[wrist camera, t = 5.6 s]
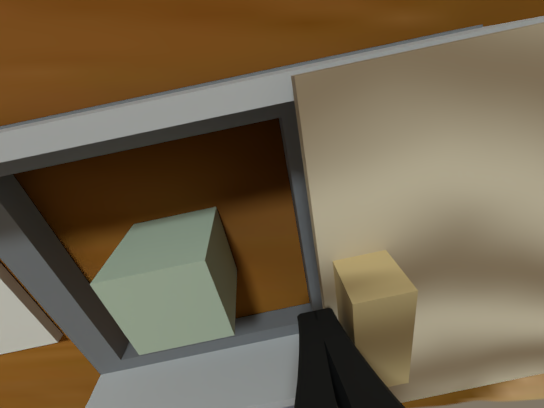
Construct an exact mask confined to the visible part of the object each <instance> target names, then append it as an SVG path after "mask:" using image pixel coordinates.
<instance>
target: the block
mask: <svg viewBox="0 0 544 408" xmlns="http://www.w3.org/2000/svg"><path fill="white" fill-rule="evenodd" d="M90 286H91V287H92V289H93V290H94V291H95V293H96V294H97V296H98V297H99V299H100V300H101V301H102V303H103V304H104V306H105V307H106V309H107V310H108V311H109V313H110V314H111V316H112V317H113V319H114V320H115V321H116V323H117V324H118V326H119V327H120V329H121V330H122V331H123V333H124V334H125V336H126V337H127V338H128V340H129V341H130V343H131V344H132V346H133V347H134V348H135V350H136V351H137V353H138V354H139V355H143V354H148V353H152V352H157V351H162V350H167V349H172V348H176V347H181V346H186V345H191V344H196V343H200V342H205V341H210V340H215V339H220V338H224V337H229V336H234V335H235V313H236V289H237V268H236V265H235V262H234V259H233V256H232V253H231V250H230V247H229V244H228V241H227V238H226V235H225V232H224V228H223V225H222V222H221V219H220V216H219V213H218V210H217V207H212V208H208V209H203V210H198V211H193V212H189V213H184V214H179V215H175V216H170V217H165V218H160V219H156V220H151V221H146V222H142V223H137V224H133V226H132V227H131V229H130V230H129V231H128V233H127V234H126V235H125V237H124V238H123V240H122V241H121V242H120V244H119V245H118V246H117V248H116V249H115V250H114V252H113V253H112V255H111V256H110V257H109V259H108V260H107V261H106V263H105V264H104V266H103V267H102V268H101V270H100V271H99V272H98V274H97V275H96V277H95V278H94V279H93V281H92V282H91V283H90Z"/></svg>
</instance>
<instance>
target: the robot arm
mask: <svg viewBox="0 0 544 408" xmlns="http://www.w3.org/2000/svg"><path fill="white" fill-rule="evenodd" d="M297 319H298V327H299V361H298V377H297V387H296V396H295V404H294V405H292V406H288V407H283V408H405V407H404V406H403V405H402V404H401V402H400V401H399V400H398V399H397V398H396V397H395V396H394V394H393V393H392V392H391V391H390V390H389V388H388V387H387V386H386V385H385V384H384V382H383V381H382V380H381V379H380V378H379V376H378V375H377V374H376V373H375V371H374V370H373V369H372V368H371V366H370V365H369V364H368V362H367V361H366V360H365V358H364V357H363V356H362V354H361V353H360V352H359V350H358V349H357V348H356V346H355V345H354V343H353V342H352V341H351V339H350V338H349V336H348V335H347V333H346V332H345V330H344V329H343V327H342V325H341V324H340V322H339V321H338V319H337V317H336V315H335V314H334V312H333V310H332V309H331V308H325V309H320V310H315V311H310V312H306V313H301V314H299V315H298V316H297ZM337 406H338V407H337Z"/></svg>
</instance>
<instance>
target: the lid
mask: <svg viewBox="0 0 544 408" xmlns="http://www.w3.org/2000/svg"><path fill="white" fill-rule="evenodd" d="M291 80H292V88H293V95H294V102H295V109H296V117H297V124H298V131H299V138H300V146H301V153H302V160H303V167H304V175H305V182H306V189H307V196H308V204H309V211H310V218H311V226H312V233H313V240H314V247H315V255H316V262H317V269H318V276H319V284H320V291H321V298H322V305H323V309H325V308H331V309H332V310H333V312H334V314H335V315H336V317H337V319H338V321H339V322H340V324H341V325H342V327H343V329H344V330H345V332H346V333H347V335H348V336H349V338H350V339H351V341H352V342H353V343H354V345H355V346H356V348H357V349H358V350H359V352H360V353H361V354H362V356H363V357H364V358H365V360H366V361H367V362H368V364H369V365H370V366H371V368H372V369H373V370H374V371H375V373H376V374H377V375H378V376H379V378H380V379H381V380H382V381H383V382H384V384H385V385H386V386H387V387H388V388H389V390H390V391H391V392H392V393H393V394H394V396H395V397H396V398H397V399H398V400H399V401H400V402H401V403H402V402H407V401H412V400H417V399H422V398H426V397H431V396H436V395H441V394H446V393H451V392H455V391H460V390H465V389H470V388H475V387H480V386H485V385H489V384H494V383H499V382H504V381H509V380H514V379H518V378H523V377H528V376H533V375H538V374H543V373H544V22H542V23H537V24H533V25H528V26H523V27H518V28H514V29H509V30H504V31H500V32H495V33H490V34H485V35H481V36H476V37H471V38H467V39H462V40H457V41H452V42H448V43H443V44H438V45H434V46H429V47H424V48H419V49H415V50H410V51H405V52H401V53H396V54H391V55H386V56H382V57H377V58H372V59H368V60H363V61H358V62H353V63H349V64H344V65H339V66H335V67H330V68H325V69H320V70H316V71H311V72H306V73H302V74H297V75H292V76H291ZM337 407H338V406H337Z"/></svg>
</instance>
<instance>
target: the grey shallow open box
mask: <svg viewBox="0 0 544 408" xmlns="http://www.w3.org/2000/svg"><path fill="white" fill-rule="evenodd" d="M542 22H544V16H541V17H536V18H530V19H525V20H519V21H514V22H508V23H503V24H497V25H492V26H486V27H483V25H477V26H472V27H467V28H462V29H457V30H452V31H447V32H443V33H438V34H433V35H429V36H424V37H419V38H415V39H410V40H405V41H400V42H396V43H391V44H386V45H382V46H377V47H372V48H367V49H363V50H358V51H353V52H349V53H344V54H339V55H334V56H330V57H325V58H320V59H316V60H311V61H306V62H301V63H297V64H292V65H287V66H283V67H278V68H273V69H269V70H264V71H259V72H254V73H250V74H245V75H240V76H236V77H231V78H226V79H221V80H217V81H212V82H207V83H203V84H198V85H193V86H188V87H184V88H179V89H174V90H170V91H165V92H160V93H155V94H151V95H146V96H141V97H137V98H132V99H127V100H123V101H118V102H113V103H108V104H104V105H99V106H94V107H90V108H85V109H80V110H75V111H71V112H66V113H61V114H57V115H52V116H47V117H42V118H38V119H33V120H28V121H24V122H19V123H14V124H9V125H5V126H0V258H1V259H2V261H3V262H4V263H5V264H6V265H7V266H8V268H9V269H10V270H11V271H12V272H13V273H14V275H15V276H16V277H17V278H18V279H19V280H20V281H21V283H22V284H23V285H24V286H25V287H26V288H27V290H28V291H29V292H30V293H31V294H32V295H33V297H34V298H35V299H36V300H37V301H38V302H39V304H40V305H41V306H42V307H43V308H44V309H45V310H46V312H47V313H48V314H49V315H50V316H51V317H52V319H53V320H54V321H55V322H56V323H57V324H58V326H59V327H60V328H61V329H62V330H63V331H64V333H65V334H66V335H67V336H68V337H69V338H70V339H71V341H72V342H73V343H74V344H75V345H76V346H77V348H78V349H79V350H80V351H81V352H82V353H83V355H84V356H85V357H86V358H87V359H88V360H89V362H90V363H91V364H92V365H93V366H94V367H95V368H96V370H97V371H98V372H99V373H100V374H101V376H100V378H99V380H98V382H97V384H96V386H95V388H94V390H93V393H92V395H91V397H90V399H89V401H88V403H87V405H86V407H85V408H283V407H288V406H292V405H294V404H295V396H296V387H297V377H298V361H299V327H298V319H297V316H298V315H299V314H301V313H306V312H310V311H315V310H320V309H323V305H322V298H321V291H320V284H319V276H318V269H317V262H316V255H315V247H314V240H313V233H312V226H311V218H310V211H309V204H308V196H307V189H306V182H305V175H304V167H303V160H302V153H301V146H300V138H299V131H298V124H297V117H296V109H295V102H294V95H293V88H292V80H291V76H292V75H297V74H302V73H306V72H311V71H316V70H320V69H325V68H330V67H335V66H339V65H344V64H349V63H353V62H358V61H363V60H368V59H372V58H377V57H382V56H386V55H391V54H396V53H401V52H405V51H410V50H415V49H419V48H424V47H429V46H434V45H438V44H443V43H448V42H452V41H457V40H462V39H467V38H471V37H476V36H481V35H485V34H490V33H495V32H500V31H504V30H509V29H514V28H518V27H523V26H528V25H533V24H537V23H542ZM276 118H279V123H280V129H281V135H282V140H283V146H284V152H285V158H286V164H287V170H288V176H289V182H290V188H291V194H292V200H293V206H294V211H295V217H296V223H297V229H298V235H299V241H300V247H301V253H302V259H303V265H304V271H305V277H306V282H307V288H308V294H309V300H310V303H308V304H303V305H299V306H294V307H289V308H284V309H279V310H275V311H270V312H265V313H260V314H255V315H251V316H246V317H241V318H236V319H235V335H234V336H229V337H224V338H220V339H215V340H210V341H205V342H200V343H196V344H191V345H186V346H181V347H176V348H172V349H167V350H162V351H157V352H152V353H148V354H143V355H139V354H138V353H137V351H136V350H135V348H134V347H133V346H132V344H131V343H130V341H129V340H128V338H127V337H126V336H125V334H124V333H123V331H122V330H121V329H120V327H119V326H118V324H117V323H116V321H115V320H114V319H113V317H112V316H111V314H110V313H109V311H108V310H107V309H106V307H105V306H104V304H103V303H102V301H101V300H100V299H99V297H98V296H97V294H96V293H95V291H94V290H93V289H92V287H91V286H90V284H89V282H88V281H87V280H86V278H85V277H84V275H83V274H82V272H81V271H80V270H79V268H78V267H77V265H76V264H75V262H74V261H73V260H72V258H71V257H70V255H69V254H68V252H67V251H66V250H65V248H64V247H63V245H62V244H61V242H60V241H59V240H58V238H57V237H56V235H55V234H54V232H53V231H52V229H51V228H50V227H49V225H48V224H47V222H46V221H45V219H44V218H43V217H42V215H41V214H40V212H39V211H38V209H37V208H36V207H35V205H34V204H33V202H32V201H31V199H30V198H29V197H28V195H27V194H26V192H25V191H24V189H23V188H22V187H21V185H20V184H19V182H18V181H17V179H16V178H15V177H14V175H13V174H16V173H20V172H25V171H30V170H35V169H39V168H44V167H49V166H53V165H58V164H63V163H68V162H72V161H77V160H82V159H87V158H91V157H96V156H101V155H105V154H110V153H115V152H120V151H124V150H129V149H134V148H139V147H143V146H148V145H153V144H157V143H162V142H167V141H172V140H176V139H181V138H186V137H191V136H195V135H200V134H205V133H209V132H214V131H219V130H224V129H228V128H233V127H238V126H243V125H247V124H252V123H257V122H261V121H266V120H271V119H276Z"/></svg>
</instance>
